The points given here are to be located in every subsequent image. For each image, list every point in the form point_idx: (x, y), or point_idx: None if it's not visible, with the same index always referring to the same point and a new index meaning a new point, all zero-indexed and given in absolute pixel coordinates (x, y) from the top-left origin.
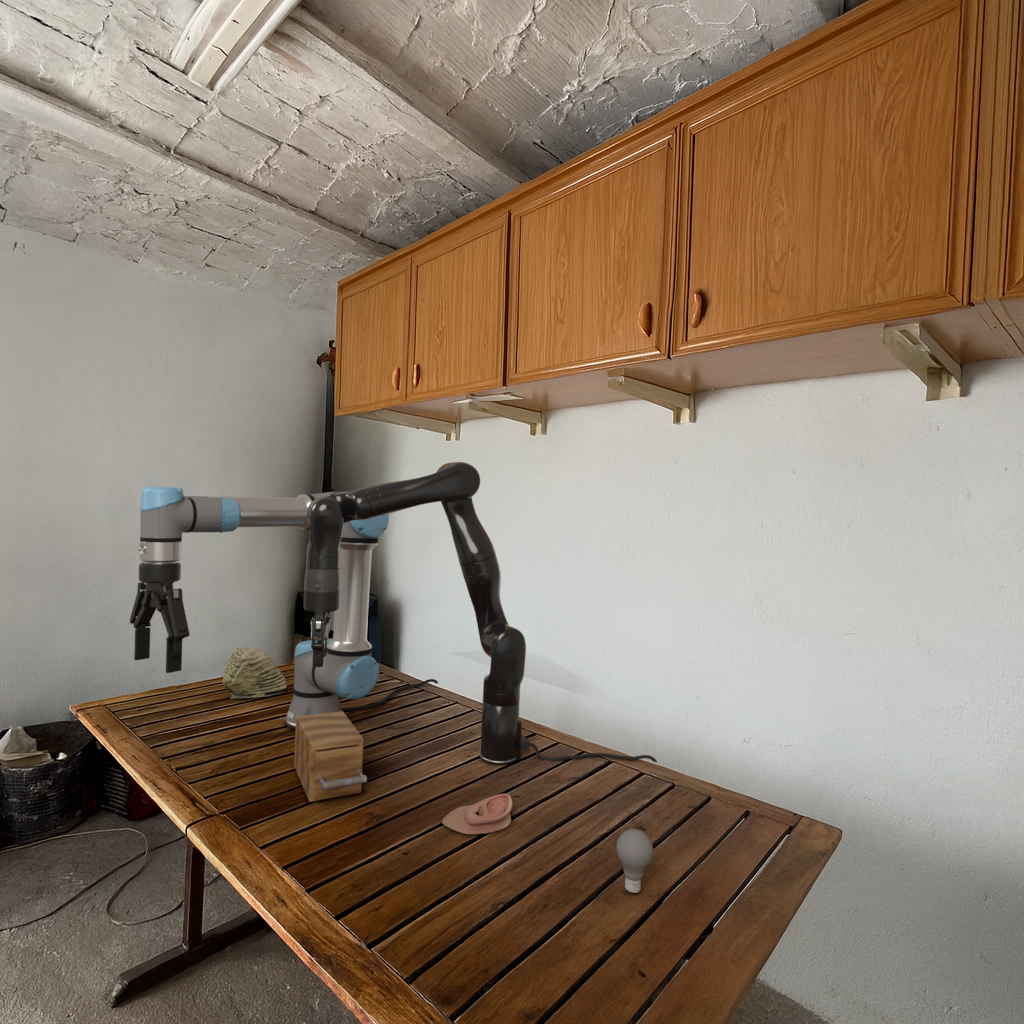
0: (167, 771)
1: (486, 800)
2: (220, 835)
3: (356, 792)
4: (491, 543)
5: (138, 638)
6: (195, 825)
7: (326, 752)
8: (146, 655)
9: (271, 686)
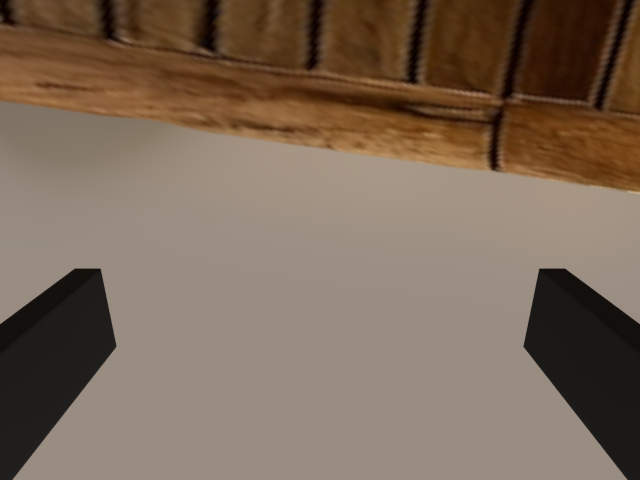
0: (204, 71)
1: None
2: (581, 148)
3: None
4: None
5: (12, 461)
6: (505, 160)
7: None
8: (91, 297)
9: None
